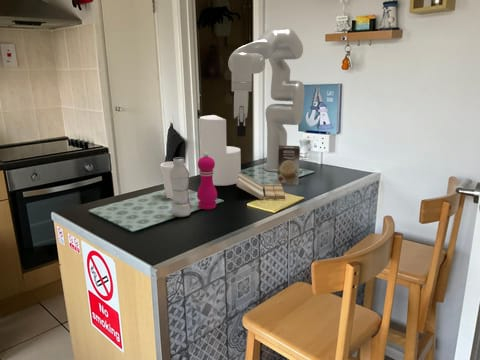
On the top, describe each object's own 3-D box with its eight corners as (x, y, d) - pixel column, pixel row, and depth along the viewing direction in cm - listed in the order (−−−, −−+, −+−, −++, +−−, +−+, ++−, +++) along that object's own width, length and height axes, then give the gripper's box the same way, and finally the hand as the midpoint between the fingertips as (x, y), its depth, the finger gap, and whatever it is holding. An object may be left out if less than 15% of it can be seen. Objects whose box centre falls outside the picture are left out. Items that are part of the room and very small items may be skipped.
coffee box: (277, 185, 171) (277, 148, 166) (277, 181, 177) (277, 145, 173) (298, 185, 170) (300, 148, 166) (298, 181, 176) (299, 145, 172)
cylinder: (207, 187, 168) (205, 120, 161) (197, 177, 184) (195, 115, 176) (246, 183, 174) (246, 118, 166) (233, 173, 189) (233, 114, 182)
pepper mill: (202, 211, 140) (200, 155, 135) (194, 205, 147) (192, 151, 141) (220, 208, 144) (219, 153, 138) (212, 202, 150) (211, 149, 144)
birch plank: (237, 174, 165) (239, 171, 165) (260, 187, 167) (262, 184, 166) (236, 185, 150) (238, 182, 150) (261, 199, 151) (263, 196, 151)
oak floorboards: (263, 188, 167) (264, 184, 166) (281, 188, 167) (281, 184, 166) (265, 200, 152) (265, 196, 151) (284, 200, 151) (285, 196, 151)
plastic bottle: (183, 220, 132) (180, 161, 127) (167, 216, 136) (164, 159, 130) (195, 214, 137) (193, 157, 132) (180, 211, 141) (177, 155, 135)
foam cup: (190, 197, 155) (189, 165, 152) (167, 201, 151) (165, 168, 147) (180, 191, 163) (179, 160, 159) (159, 195, 158) (157, 163, 155)
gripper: (232, 86, 157) (232, 133, 162) (231, 87, 143) (231, 138, 147) (251, 86, 157) (250, 133, 162) (252, 87, 143) (251, 139, 147)
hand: (241, 136), depth 155 cm, fingers closed
